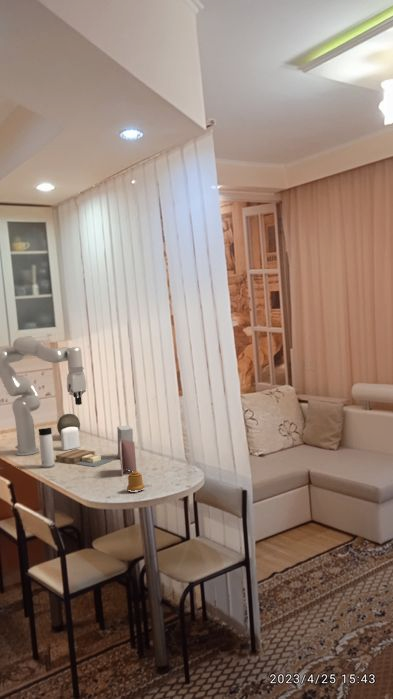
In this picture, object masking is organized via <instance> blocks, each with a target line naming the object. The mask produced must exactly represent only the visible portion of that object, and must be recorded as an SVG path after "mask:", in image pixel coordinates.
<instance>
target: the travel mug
mask: <svg viewBox="0 0 393 699" xmlns="http://www.w3.org/2000/svg"><path fill="white" fill-rule="evenodd" d="M38 438H39V440H38V441H39V451H40V458H41V467H42V468H43V469H51V468H54V467H55V466H56V465H55V463H56V462H55V452H54V443H53V442H54V441H53V431H52V427H46V428H39V429H38Z"/></svg>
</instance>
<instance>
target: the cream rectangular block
mask: <svg viewBox="0 0 393 699" xmlns="http://www.w3.org/2000/svg"><path fill="white" fill-rule="evenodd" d="M101 457H102V456H101V455H97V454H95V455H91V454H89V455H86V456H83V457H82V461H84V462H91V463H94V462H97V461H100V460H101Z"/></svg>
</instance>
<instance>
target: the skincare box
mask: <svg viewBox="0 0 393 699" xmlns="http://www.w3.org/2000/svg"><path fill="white" fill-rule="evenodd" d="M116 429H117V456H118V457H119V459H121V454H120V447H119V442H120V441H121V439H125V440H128V441H132V442H134V435H133V434H134V431H133V427H131V426H130V425H121V426H117V428H116Z"/></svg>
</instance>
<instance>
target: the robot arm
mask: <svg viewBox="0 0 393 699" xmlns="http://www.w3.org/2000/svg"><path fill="white" fill-rule="evenodd" d="M28 356H33V357H36V358H38V359H39V360H41V361H45V362H49V363H53V364H59V363H62V362H66V361H67V370H68V373H67V377H66V389H67V392H68V394H69V396H73V398H74V403H75V406H80V405H81V406H82V405H83V401H82V400H83V399H82V397H83V394H84V393H86V392H87V390H86V389H87V381H86V376H85V372H84V369H85V368H84V366H83V358H82V349H81V347H80V346H79V347H78V346H74V347H69V346H68V347H67V346H64V347H58V348H57V347H56V348H51V347H48V346H45V344H44V343H43V342H42V341H40V340H36V338H34V337H33V336H21V337H17V338H16V339H14V341H13V343H12V347H6V348H5V347H4V348H0V380H1V381H2V384H3V386H4V388H5V390H6V392H7V394H8V395H9V396H10V397H17V398H16V399H14V401H12V404H11V405H12V406H11V407H12V412H13V416H14V420H15V430H16V439H17V444H16V445H15V447H14V448H15V449H17V450H16V451H15V455H17V456H29V455H34V454H38V453H39V452H40V448H37V447H36V446H37V445H36V433H35V424H34V418H33V416H32V414H31V413H32V412H34V411H36V410H38V409H39V408H40V407H41V398H40V397H39V394H38V393H37V390H36V389H35V386H34V385H33V383H32V381H31V380H30V379H29V378H28V377H19V376H18V375H17V372H16V371H15V369H14V368H13V367H12V366H11V365H10V364H12V363H16V362H20V361H22V360H23V359H24V358H26V357H28ZM18 396H20V397H18Z"/></svg>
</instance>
